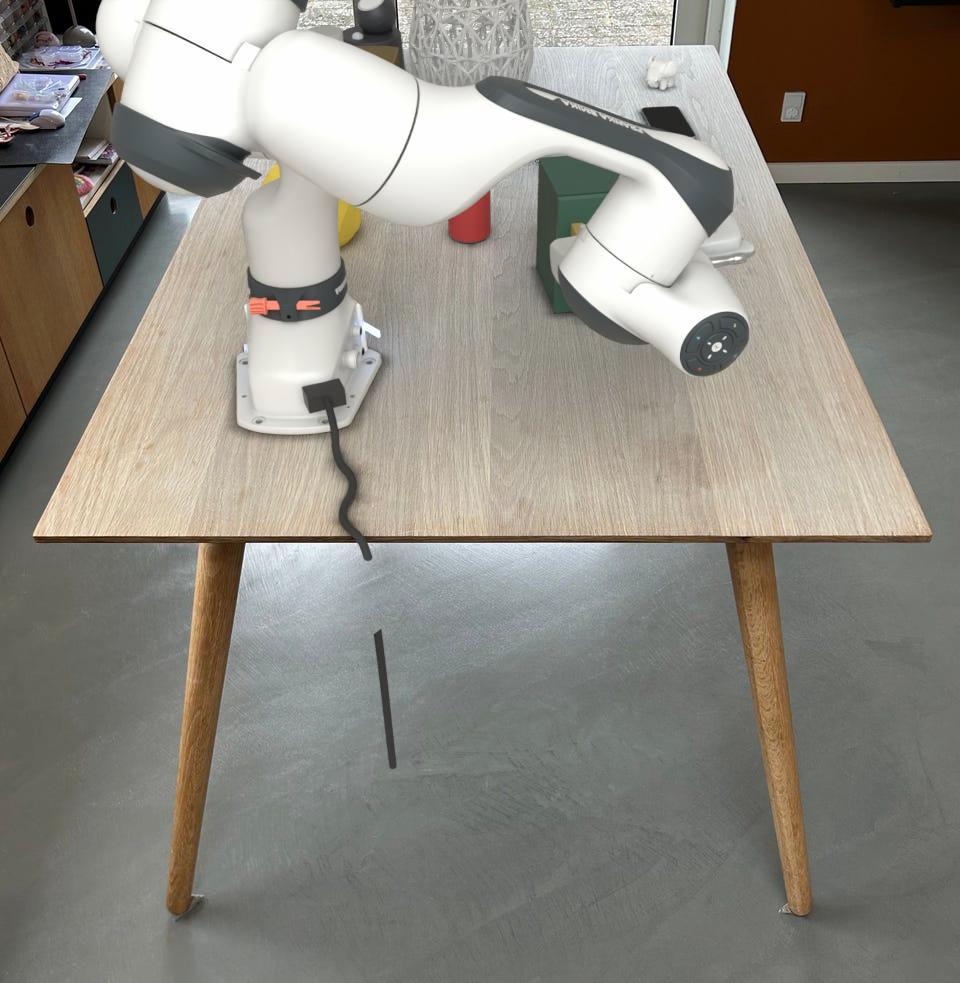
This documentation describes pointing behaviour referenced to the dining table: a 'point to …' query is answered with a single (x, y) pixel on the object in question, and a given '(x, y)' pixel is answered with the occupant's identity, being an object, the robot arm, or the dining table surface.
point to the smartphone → (668, 120)
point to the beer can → (472, 222)
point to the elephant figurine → (660, 72)
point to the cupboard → (555, 182)
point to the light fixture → (375, 27)
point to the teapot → (346, 213)
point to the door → (572, 229)
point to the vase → (470, 41)
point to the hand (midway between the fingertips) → (626, 223)
